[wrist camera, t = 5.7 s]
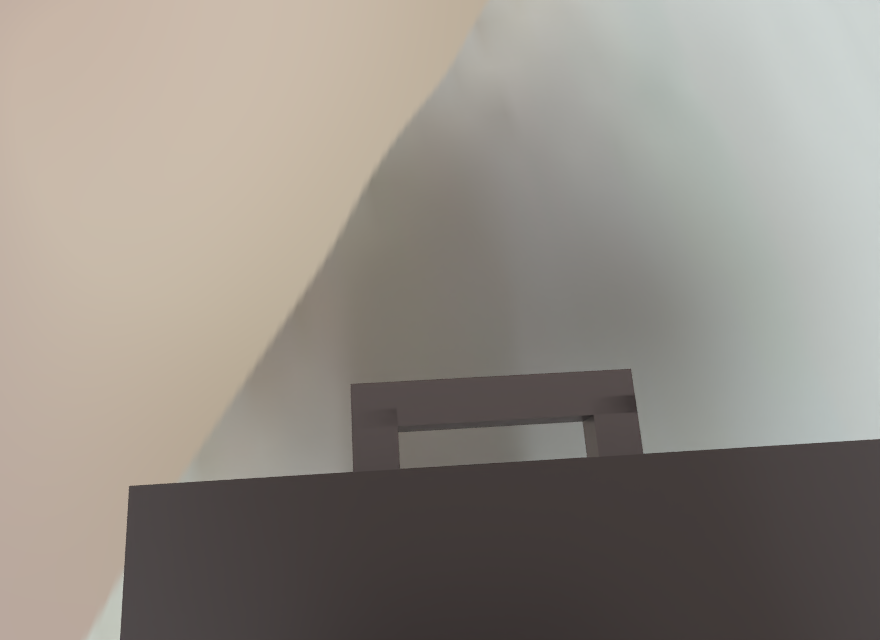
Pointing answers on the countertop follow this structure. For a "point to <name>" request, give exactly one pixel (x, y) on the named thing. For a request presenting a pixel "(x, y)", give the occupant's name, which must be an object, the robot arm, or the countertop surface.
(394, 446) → the grey rectangular block
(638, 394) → the countertop surface
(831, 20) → the countertop surface
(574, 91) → the countertop surface
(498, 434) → the countertop surface
